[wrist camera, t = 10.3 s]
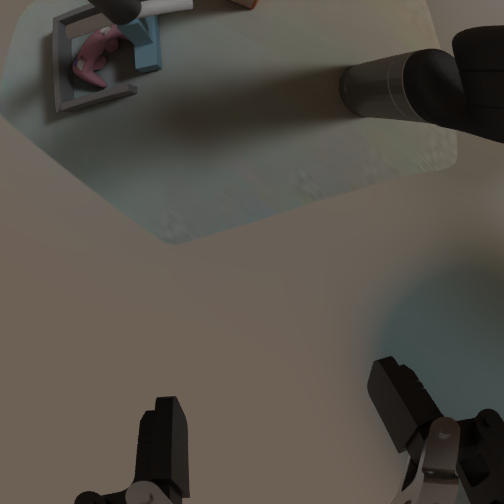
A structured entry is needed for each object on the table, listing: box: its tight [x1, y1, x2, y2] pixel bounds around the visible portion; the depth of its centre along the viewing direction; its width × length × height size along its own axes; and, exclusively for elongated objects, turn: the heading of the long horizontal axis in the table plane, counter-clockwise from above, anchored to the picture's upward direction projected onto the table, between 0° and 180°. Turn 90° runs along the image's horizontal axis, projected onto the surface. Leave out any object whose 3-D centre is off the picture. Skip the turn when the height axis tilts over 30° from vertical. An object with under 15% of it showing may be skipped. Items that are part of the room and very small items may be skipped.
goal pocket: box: [52, 4, 137, 112], centre depth 31 cm, size 12×16×5 cm
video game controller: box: [72, 25, 130, 88], centre depth 31 cm, size 10×5×7 cm, turn 142°
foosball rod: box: [65, 0, 193, 73], centre depth 21 cm, size 14×10×28 cm
